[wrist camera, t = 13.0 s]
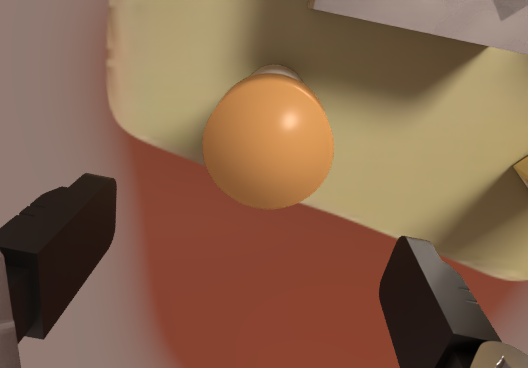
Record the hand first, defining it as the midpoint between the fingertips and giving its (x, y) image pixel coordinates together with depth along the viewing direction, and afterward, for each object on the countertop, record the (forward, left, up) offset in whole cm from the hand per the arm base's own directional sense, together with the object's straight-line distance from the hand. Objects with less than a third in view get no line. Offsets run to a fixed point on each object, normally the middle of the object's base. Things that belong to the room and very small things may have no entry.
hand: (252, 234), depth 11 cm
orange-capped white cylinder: (0, 0, -18) cm, 18 cm away
